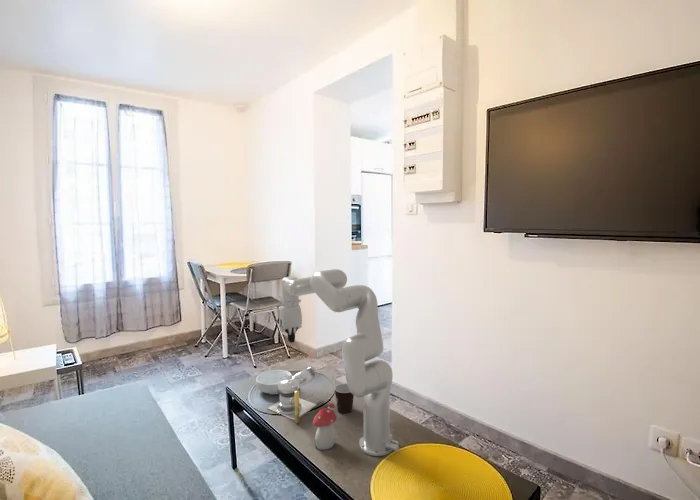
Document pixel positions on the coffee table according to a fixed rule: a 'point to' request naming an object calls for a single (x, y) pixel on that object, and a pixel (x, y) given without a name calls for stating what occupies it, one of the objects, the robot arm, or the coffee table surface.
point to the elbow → (294, 381)
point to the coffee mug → (343, 399)
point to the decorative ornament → (325, 428)
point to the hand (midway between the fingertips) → (291, 341)
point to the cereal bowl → (270, 380)
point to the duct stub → (292, 406)
